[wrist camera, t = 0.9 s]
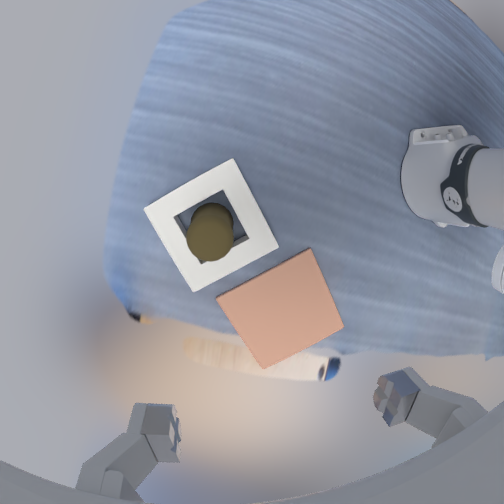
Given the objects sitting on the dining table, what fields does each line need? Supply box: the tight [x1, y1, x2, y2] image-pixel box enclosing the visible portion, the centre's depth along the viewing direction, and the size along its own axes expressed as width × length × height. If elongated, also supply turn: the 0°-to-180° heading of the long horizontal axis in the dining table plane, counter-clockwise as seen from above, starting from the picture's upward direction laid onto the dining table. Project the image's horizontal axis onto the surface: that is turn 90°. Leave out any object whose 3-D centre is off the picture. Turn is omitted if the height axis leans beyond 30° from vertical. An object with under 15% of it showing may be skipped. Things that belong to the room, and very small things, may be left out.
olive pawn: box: [186, 203, 234, 262], centre depth 34 cm, size 6×6×11 cm
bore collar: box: [144, 158, 279, 293], centre depth 38 cm, size 13×13×3 cm
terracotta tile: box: [216, 248, 344, 369], centre depth 44 cm, size 16×16×1 cm
